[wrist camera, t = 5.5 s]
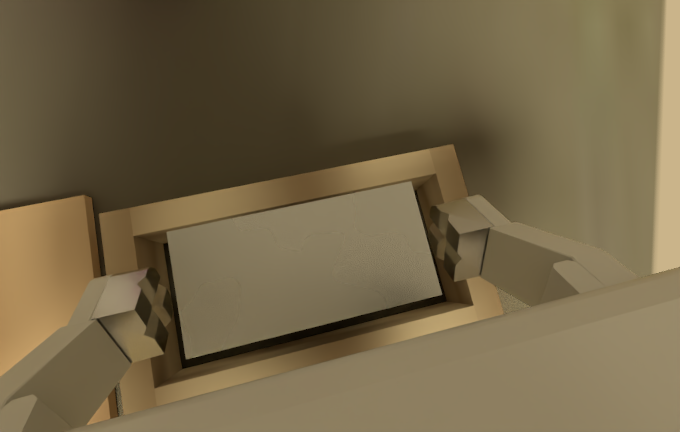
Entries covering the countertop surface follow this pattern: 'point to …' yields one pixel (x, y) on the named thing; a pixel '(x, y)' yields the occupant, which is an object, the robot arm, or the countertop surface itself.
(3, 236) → the cork mat
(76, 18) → the countertop surface
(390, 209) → the grey block
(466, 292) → the birch box
